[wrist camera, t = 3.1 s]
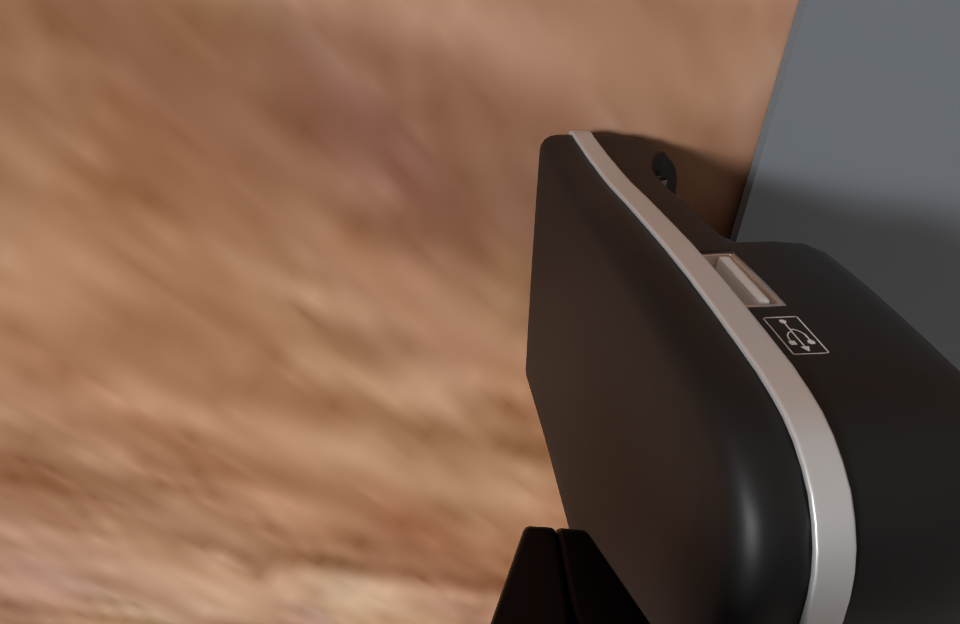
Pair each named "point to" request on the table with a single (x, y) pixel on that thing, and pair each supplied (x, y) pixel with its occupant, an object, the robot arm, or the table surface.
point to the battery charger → (734, 409)
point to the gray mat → (869, 153)
